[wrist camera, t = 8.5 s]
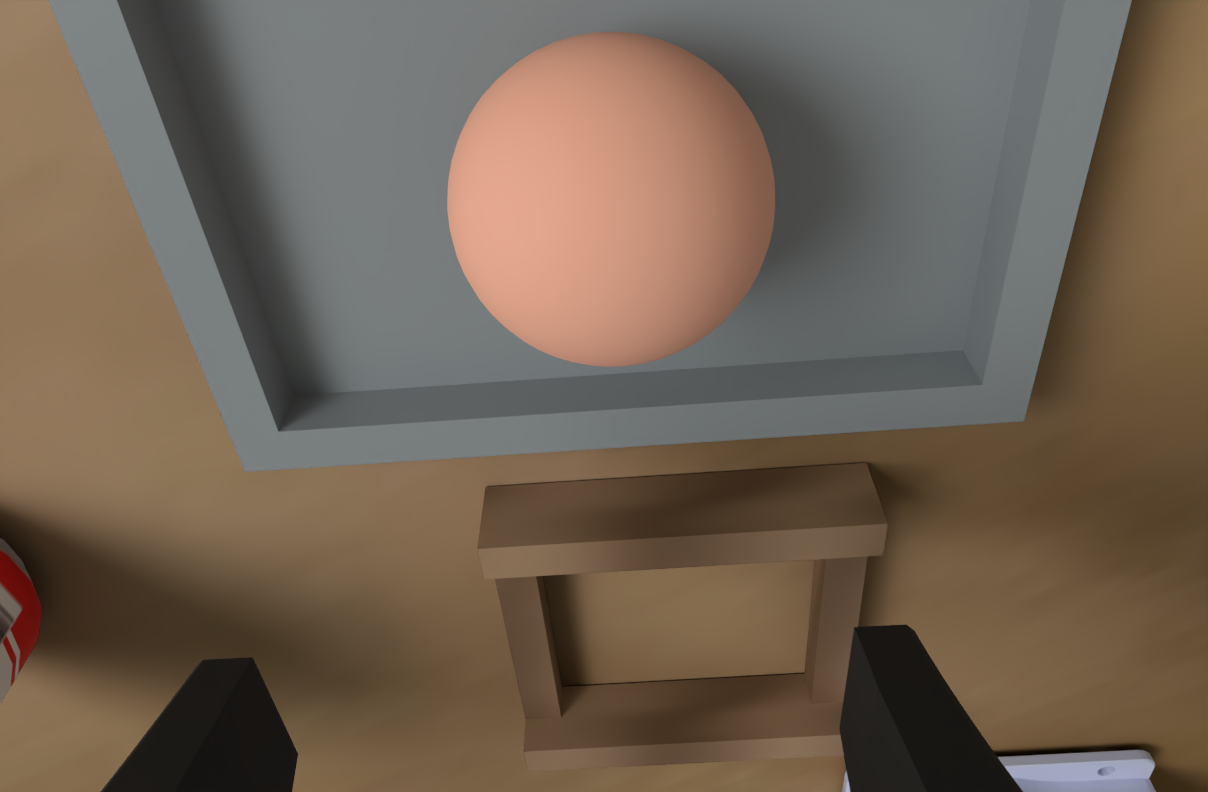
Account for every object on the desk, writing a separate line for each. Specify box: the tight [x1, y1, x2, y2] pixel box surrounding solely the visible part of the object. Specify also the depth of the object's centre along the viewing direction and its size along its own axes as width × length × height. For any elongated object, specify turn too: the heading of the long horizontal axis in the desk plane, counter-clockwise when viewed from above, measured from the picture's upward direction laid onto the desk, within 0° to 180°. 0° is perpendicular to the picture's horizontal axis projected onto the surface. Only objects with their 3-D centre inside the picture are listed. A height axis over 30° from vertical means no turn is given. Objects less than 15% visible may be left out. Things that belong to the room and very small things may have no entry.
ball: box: [447, 32, 775, 367], centre depth 14 cm, size 5×5×5 cm
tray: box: [48, 0, 1132, 472], centre depth 16 cm, size 16×12×2 cm
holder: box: [478, 463, 888, 772], centre depth 24 cm, size 9×9×2 cm
